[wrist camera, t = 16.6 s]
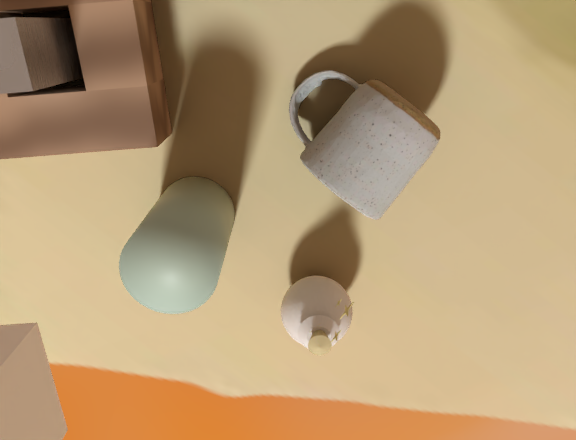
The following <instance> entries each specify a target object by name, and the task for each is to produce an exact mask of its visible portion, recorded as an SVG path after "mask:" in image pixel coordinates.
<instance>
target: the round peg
mask: <svg viewBox="0 0 576 440" xmlns="http://www.w3.org/2000/svg"><path fill="white" fill-rule="evenodd" d="M234 219H235V210H234V205H233V202H232V200H231V198H230V196H229V195H228V193H227V192H226V191H225V190H224V189H223V188H222V187H221V186H220V185H219V184H217V183H216V182H214V181H212V180H209V179H207V178H203V177H186V178H182V179H180V180H177V181H175V182H174V183H172V184H171V185H170V186H169V187H168V188H167V189H166V190H165V191H164V193H163V194H162V195H161V197H160V198H159V199H158V201H157V202H156V204H155V205H154V206H153V208H152V209H151V210H150V212H149V213H148V214H147V216H146V217H145V218H144V220H143V221H142V223H141V224H140V225H139V227H138V228H137V229H136V231H135V232H134V233H133V235H132V236H131V238H130V239H129V240H128V242H127V243H126V245H125V246H124V248H123V250H122V253H121V256H120V261H119V270H120V276H121V279H122V282H123V284H124V286H125V288H126V289H127V291H128V292H129V293H130V295H131V296H132V297H133V298H134V299H135V300H136V301H138V302H139V303H140V304H142V305H143V306H145V307H147V308H149V309H151V310H154V311H157V312H161V313H167V314H179V313H185V312H189V311H192V310H194V309H196V308H198V307H200V306H201V305H202V304H204V303H205V302H206V301H207V300H208V299H209V298H210V297H211V295H212V294H213V292H214V290H215V288H216V286H217V283H218V279H219V275H220V272H221V268H222V264H223V261H224V257H225V253H226V250H227V246H228V242H229V239H230V235H231V231H232V228H233V224H234Z"/></svg>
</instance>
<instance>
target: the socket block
mask: <svg viewBox="0 0 576 440" xmlns="http://www.w3.org/2000/svg"><path fill="white" fill-rule="evenodd" d="M67 9H69V12H70V17H71V21H72V26H73V31H74V36H75V40H76V45H77V50H78V55H79V59H80V64H81V69H82V74H83V78H84V83H85V85H81V86H69V87H56V88H44V89H39V90H36V91H30V92H17V93H5V94H0V159H8V158H21V157H34V156H46V155H59V154H72V153H85V152H98V151H110V150H123V149H136V148H149V147H158V146H159V145H160V144H161V143H162V142H163V141H164V140H165V139H166V138H167V137H168V136H169V135H170V134H172V129H171V123H170V117H169V110H168V104H167V98H166V91H165V85H164V79H163V72H162V66H161V60H160V54H159V47H158V41H157V35H156V28H155V22H154V16H153V9H152V3H151V0H0V18H11V17H23V16H22V13H33V12H44V11H56V10H67Z"/></svg>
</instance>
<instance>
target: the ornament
mask: <svg viewBox="0 0 576 440" xmlns="http://www.w3.org/2000/svg"><path fill="white" fill-rule="evenodd" d="M353 303H354V302H353ZM353 303H352V304H353ZM352 304H351V301H350V298H349V296H348V294H347V292H346V291H345V289H344V288H343V287H342V286H341V285H340V284H339V283H337V282H336V281H334V280H332V279H330V278H328V277H324V276H308V277H305V278H302V279H300V280H298V281H297V282H295V283H294V284H293V285H292V286H291V287H290V288H289V289H288V291H287V292H286V294H285V296H284V298H283V301H282V306H281V317H282V321H283V324H284V327H285V329H286V331H287V332H288V333H289V335H290V336H291V337H292V338H293V339H294V340H295V341H297V342H298V343H300V344H302V345H304V346H305V347H306V348H308V349H309V351H310V352H311V353H313V354H315V355H325V354H327V353H328V352H329V351H330V350H331V347H332V346H333V345H334V344H335V343H336V342H337V341H338V340H340V339H341V338H342V337H343V336H344V334H345V333H346V332H347V330H348V328H349V326H350V324H351V320H352Z"/></svg>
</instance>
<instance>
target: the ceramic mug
mask: <svg viewBox="0 0 576 440" xmlns="http://www.w3.org/2000/svg"><path fill="white" fill-rule="evenodd" d="M325 79H339V80H341V81H344V82H346V83H348V84H350V85H352V86H353V87H354V88H355V92H354V93H352V95H351V96H350V97H349V98H348V99H347V100H346V102H345V103H344V104H343V105H342V107H341V108H340V110H339V111H338V112H337V113H336V114H335V115H334V116H333V118H332V119H331V120H330V121H329V122H328V123H327V124H326V126H325V127H324V128H323V129H322V130H321V131H320V132H319V134H318V135H317V136H316V137H315V138H314V140H313V141H310V140H309V139H308V137H307V136H306V135H305V133H304V131H303V130H302V128H301V125H300V123H299V119H298V108H299V106H300V103H301V102H302V101H303V100H304V99H305V98H306V97H307V96H308V94H309V93H310V92H311V91H312V90H314V89H315V88H316V87H319V86H320V85H321V84H322V81H323V80H325ZM289 114H290V120H291V124H292V126H293V129H294V131H295V132H296V134H297V136H298V137H299V139H300V140H301V141H302V142H303V144H304V145H305V146H306V148H305V150H304V151H303V152H302V154H301V156H300V159H301V161H302V162H303V164H304V165H305V166H306V167H307V169H308V170H309V171H310V172H311V173H312V174H313V175H314V176H315V177H316V178H317V179H318V180H319V181H321V182H322V183H323V184H324V185H325V186H326V187H327V188H329V189H330V190H331V191H332V192H333V193H334V194H336V195H337V196H338V197H340V198H341V199H342V200H343V201H345V202H346V203H348V204H349V205H350V206H352V207H353V208H355V209H356V210H358V211H359V212H360V213H362V214H363V215H365V216H367V217H369V218H372V219H375V220H377V219H379V218H381V217H382V215H383V214H384V213H385V211H386V210H387V209H388V208H389V206H390V205H391V204H392V203H393V201H394V200H395V199H396V197H397V196H398V195H399V194H400V192H401V191H402V190H403V189H404V188H405V186H406V185H407V184H408V182H409V181H410V180H411V179H412V177H413V176H414V174H415V173H416V172H417V171H418V170H419V169H420V167H421V166H422V165H423V164H424V163H425V161H426V160H427V159H428V158H429V156H430V155H431V153H432V152H433V150H434V148H435V147H436V145H437V143H438V142H439V139H440V130H439V128H438V127H437V126H436V125H435V124H434V123H433V122H432V121H431V120H430V119H429V118H428V117H427V116H426V115H424V114H423V113H422V112H421V111H420V110H419V109H418V108H416V107H415V106H414V105H412V104H411V103H410V102H408V101H407V100H406V99H405V98H403V97H402V96H401V95H399V94H398V93H397V92H395V91H394V90H393V89H391V88H390V87H389V86H387V85H386V84H384V83H383V82H381V81H379V80H376V79H375V80H368V81H366V82H365V83H364V84H358V83H357V82H356V81H355V80H353V79H352V78H351V77H349V76H347V75H345V74H343V73H340V72H337V71H331V70H329V71H320V72H317V73H314V74H312V75H311V76H309V77H307V78H306V79H305V80H304V81H303V82H302V83H301V84H300V85H299V86H298V87H297V88H296V90H295V92H294V93H293V95H292V97H291V100H290V105H289Z"/></svg>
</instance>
